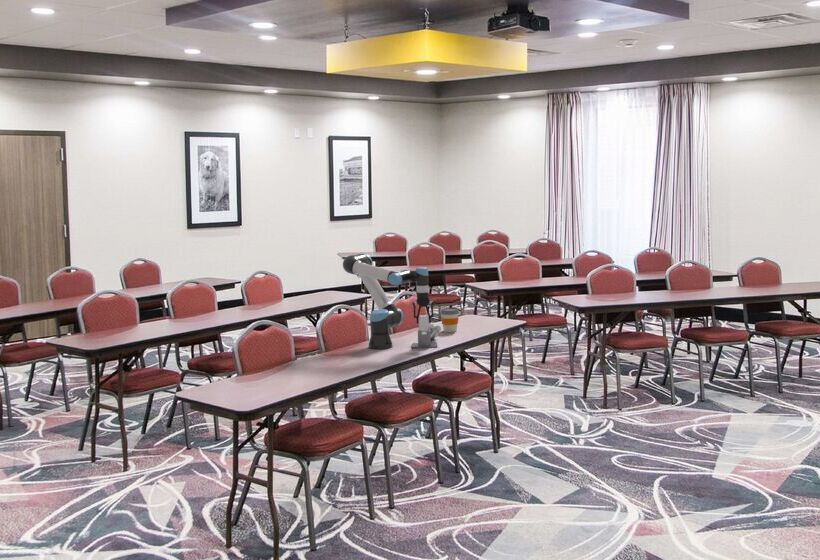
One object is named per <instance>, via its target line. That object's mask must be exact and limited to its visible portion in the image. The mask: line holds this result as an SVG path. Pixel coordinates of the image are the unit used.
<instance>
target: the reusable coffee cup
mask: <svg viewBox="0 0 820 560" xmlns="http://www.w3.org/2000/svg"><path fill="white" fill-rule="evenodd" d="M459 313H460V311H459V308H455V307H446V308H445V307H444V308H441V309H440V315H441V316H440V317H441V318H440V320H441V324H442V328H443V332H444V333H455V332H457V330H458V329H457V328H458V324H459Z"/></svg>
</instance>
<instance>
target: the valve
mask: <svg viewBox="0 0 820 560" xmlns="http://www.w3.org/2000/svg"><path fill="white" fill-rule="evenodd" d="M429 329H430V332H431V340H434V339H436V338H437V336H438V335H439V333H440V332H441V330H442V327H441V326H440V325H436V326H435V325H434V324H433V323H429Z"/></svg>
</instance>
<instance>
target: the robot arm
mask: <svg viewBox="0 0 820 560" xmlns="http://www.w3.org/2000/svg"><path fill="white" fill-rule="evenodd" d="M342 268H343V270H344V271H345V272H346V273H348V274H351V275H354V276H357V278H359V279H361V281H362V283H363V284H364V286H365V288H366V289H367V291H368V293H369V295H370V296H371V298H372V300H373V301H374V303H375V305H376V307H377V308H378V309H375V310H374V309H373V310H372V311H371V312H370V313H369V321H370V324H369V325H370V337H369V342H368V348H369V349H372V350H385V349H390V348H392V347H393V341H392V338H391V336H390V329H391V328H396V327H398V326H400V325H401V324H402V323H403V321H404V312H403V310H402V309H400V308H399V307H396V305H395V303H393V302H391V301H390V300H389V298H388V296H387V295H386V294H387V293H385V291H384V289H383V287H382V286H381V285H380V284H381V283H379V281H382V282H387V283H389V284H390V285H392V286H399V285H403V284H407V283H416V300H415V301H412V306H413V318H415V319H416V324H418V330H420V315H421V314H420V312H421V308H424V307H425V311H426V313H427V314H426V315H428V329H429V324H432V323H431V322H432V318H434V302H435V301H433V300H431V299H430V292H429V289H430V286H429V269H428V268H427V267H426V266H425V267H424V266H423V267H422V266H421V267H420V266H418V267H416V268H415V270H412V269H411V270H409V269H402V270H400V271H394V270H391V269H387V268H383V267H379V266H375V265H373V259H372V258H371V256H370V255H368V254H367V253H358V254H357V253H356V254H352V255H351V254H350V255H348V256H346V257H345V258H344V259H343V262H342ZM378 280H379V281H378ZM429 304H430V309H429V307H428V305H429ZM417 305H418V309H417V310H416V306H417ZM429 310H430V311H429ZM416 311H417V313H416Z"/></svg>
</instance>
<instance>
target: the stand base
mask: <svg viewBox="0 0 820 560" xmlns="http://www.w3.org/2000/svg"><path fill="white" fill-rule="evenodd" d="M431 340H432V339H431V332H430V329H428V331H423V332H420V329H417V342H412V343H411V349H431V348H432V349H435V348H438V342H437V341H434V342H432V341H431Z"/></svg>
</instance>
